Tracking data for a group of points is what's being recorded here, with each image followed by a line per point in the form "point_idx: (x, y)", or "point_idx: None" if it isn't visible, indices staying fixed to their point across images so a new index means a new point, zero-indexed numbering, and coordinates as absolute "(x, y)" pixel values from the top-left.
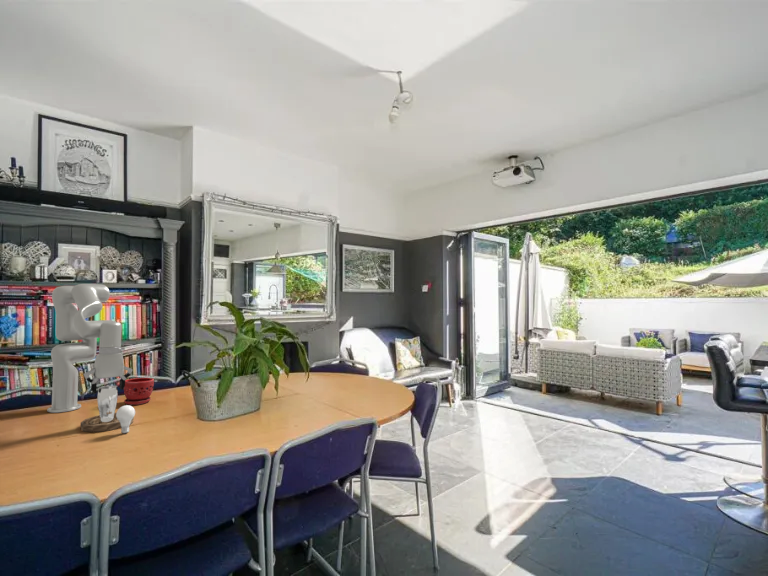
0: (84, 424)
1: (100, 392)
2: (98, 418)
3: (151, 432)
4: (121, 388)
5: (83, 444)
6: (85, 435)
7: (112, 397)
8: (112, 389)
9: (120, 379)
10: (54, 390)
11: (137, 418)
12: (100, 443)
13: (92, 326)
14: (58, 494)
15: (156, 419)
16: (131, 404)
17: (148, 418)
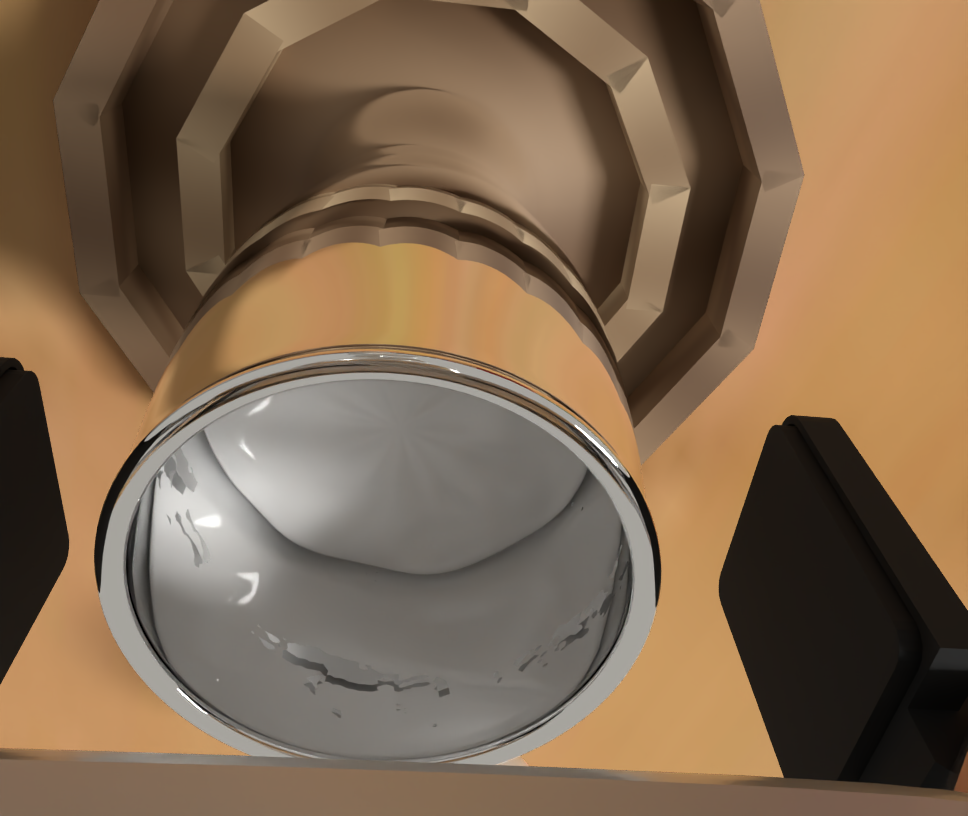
0: (98, 279)
1: (172, 602)
2: (348, 2)
3: (616, 769)
4: (726, 614)
5: (85, 679)
6: (126, 438)
7: (442, 592)
8: (438, 744)
9: (932, 665)
10: None
11: (844, 194)
12: (210, 743)
13: None
14: None
15: (925, 441)
16: None
17: (913, 320)
